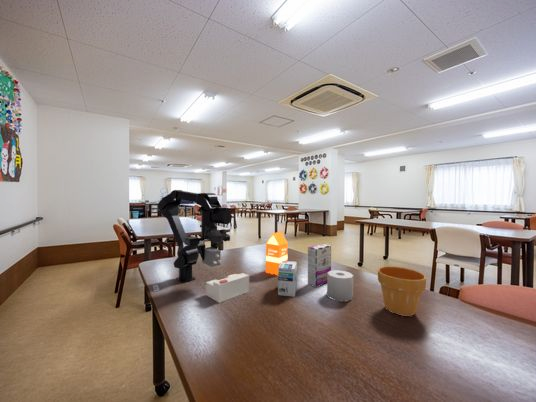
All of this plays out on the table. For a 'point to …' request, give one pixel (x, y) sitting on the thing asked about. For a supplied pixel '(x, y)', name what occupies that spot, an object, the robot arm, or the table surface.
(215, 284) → the socket
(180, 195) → the robot arm
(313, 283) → the candy bar box
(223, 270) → the table surface
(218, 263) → the plug
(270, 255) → the orange juice
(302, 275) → the table surface
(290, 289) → the light bulb box
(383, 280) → the flower pot
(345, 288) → the toilet tissue
